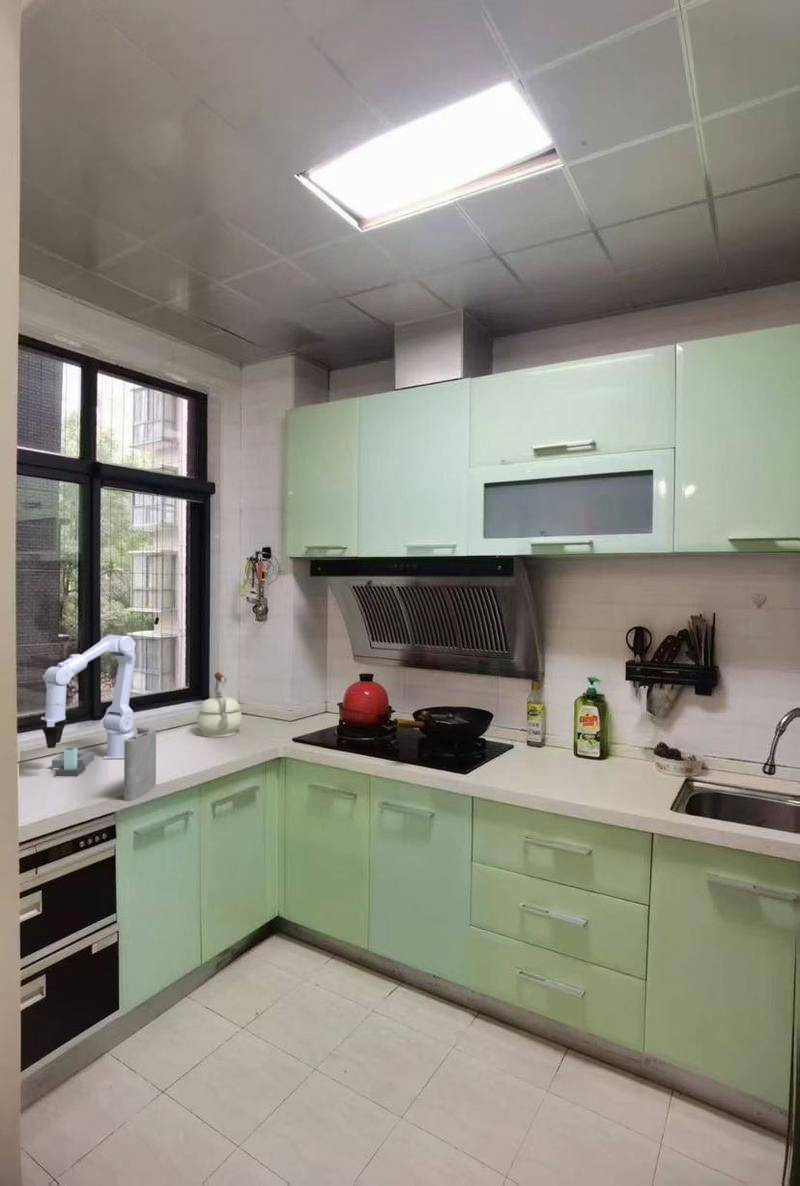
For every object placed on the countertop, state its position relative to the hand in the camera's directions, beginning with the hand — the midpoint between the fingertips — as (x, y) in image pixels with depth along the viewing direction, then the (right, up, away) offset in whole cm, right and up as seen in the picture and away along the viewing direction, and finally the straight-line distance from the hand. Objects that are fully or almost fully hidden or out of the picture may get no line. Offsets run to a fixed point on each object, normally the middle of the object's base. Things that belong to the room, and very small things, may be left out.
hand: (53, 745), depth 204 cm
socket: (0, -10, +11) cm, 15 cm away
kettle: (+38, -10, +57) cm, 69 cm away
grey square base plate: (+5, -10, +2) cm, 11 cm away
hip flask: (+35, -11, -15) cm, 40 cm away
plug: (+5, -10, +2) cm, 11 cm away
